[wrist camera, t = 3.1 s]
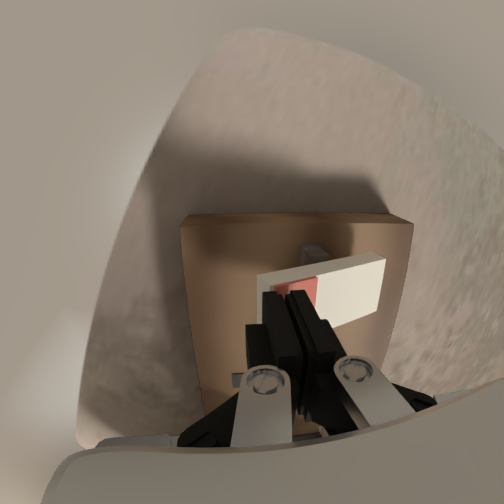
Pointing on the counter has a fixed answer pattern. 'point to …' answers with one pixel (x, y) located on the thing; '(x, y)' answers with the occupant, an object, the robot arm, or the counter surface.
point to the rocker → (331, 286)
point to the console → (275, 259)
